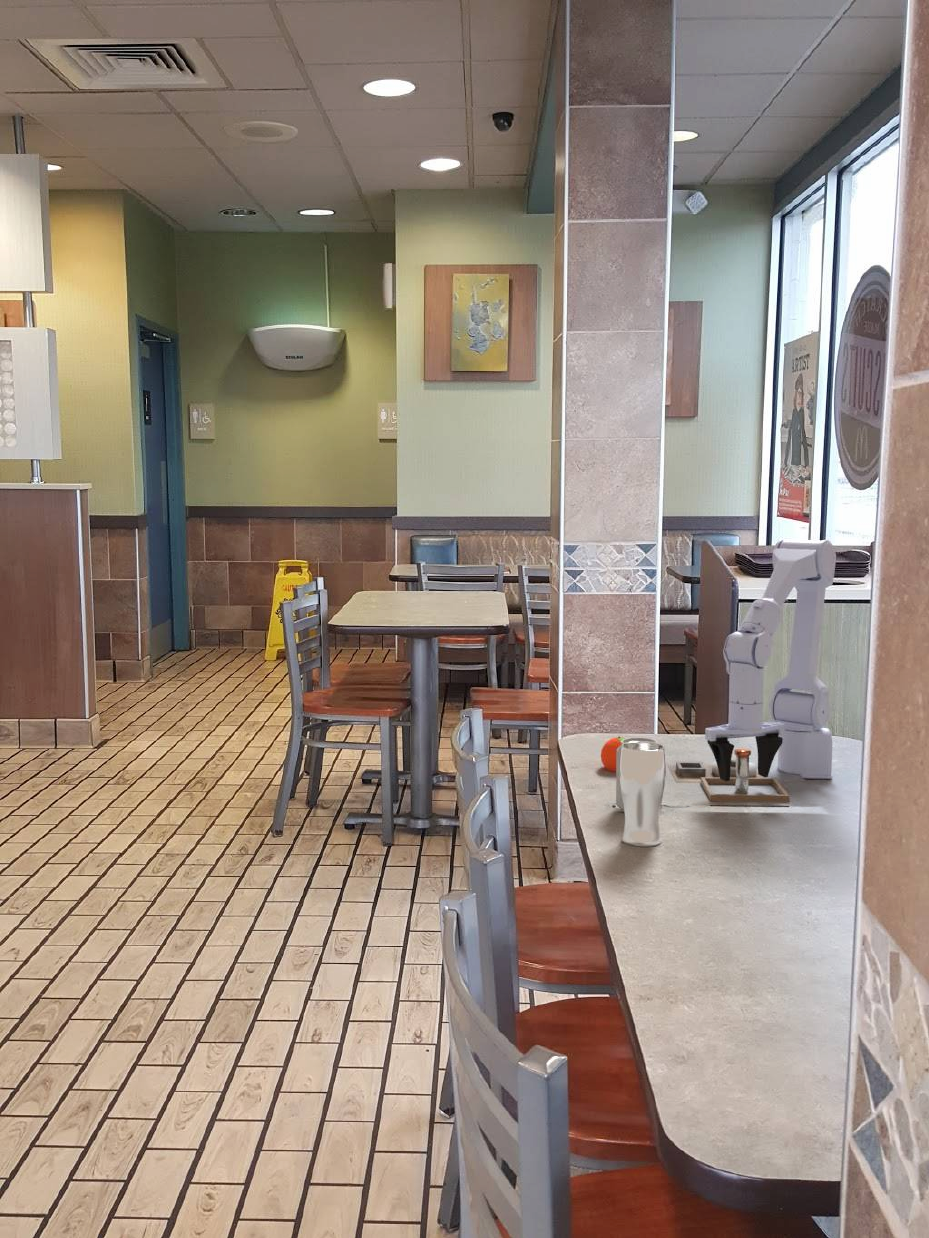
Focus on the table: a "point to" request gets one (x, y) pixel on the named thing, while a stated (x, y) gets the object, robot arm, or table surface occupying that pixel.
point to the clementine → (610, 753)
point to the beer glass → (642, 791)
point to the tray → (745, 797)
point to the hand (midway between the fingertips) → (743, 777)
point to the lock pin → (742, 770)
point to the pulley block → (704, 771)
